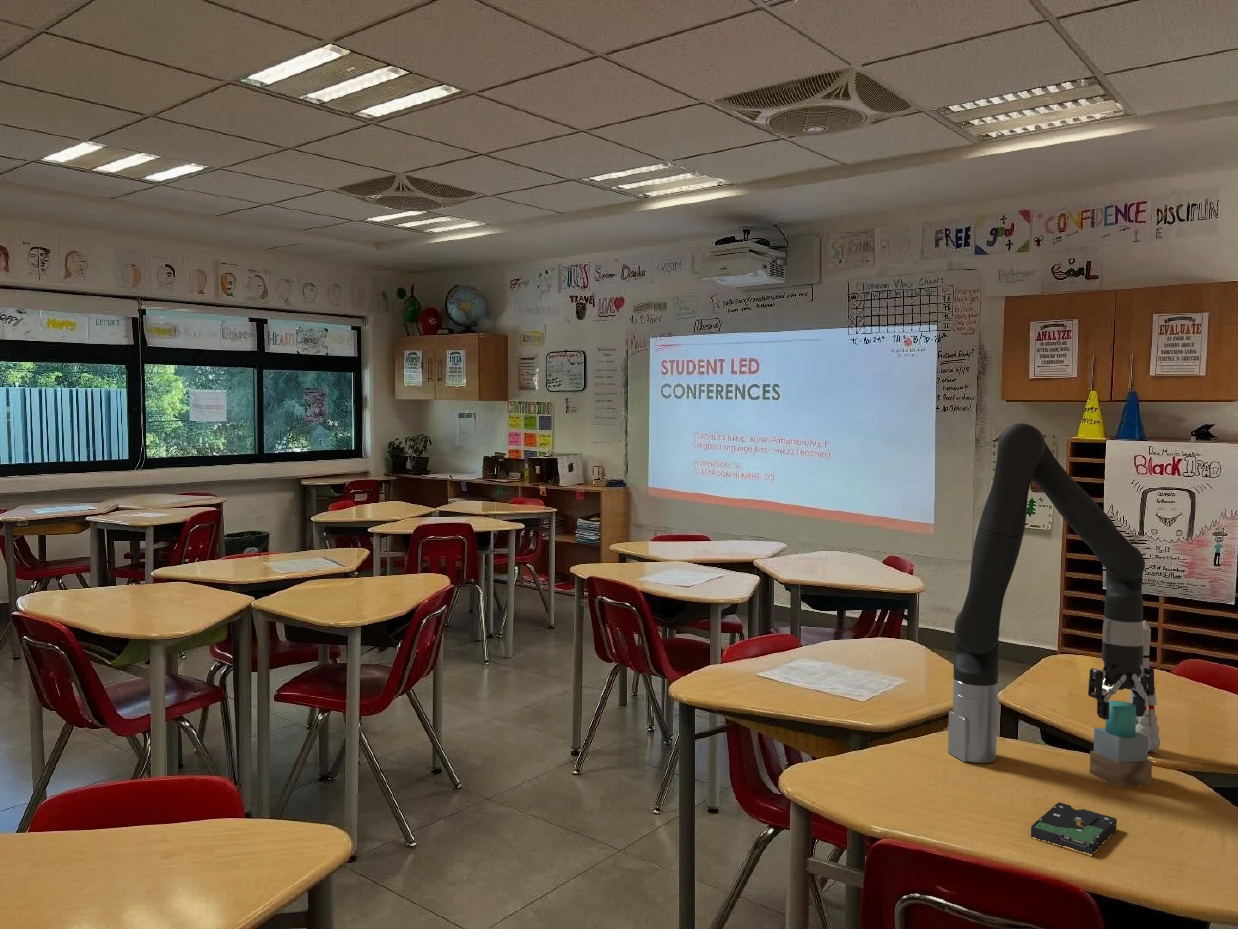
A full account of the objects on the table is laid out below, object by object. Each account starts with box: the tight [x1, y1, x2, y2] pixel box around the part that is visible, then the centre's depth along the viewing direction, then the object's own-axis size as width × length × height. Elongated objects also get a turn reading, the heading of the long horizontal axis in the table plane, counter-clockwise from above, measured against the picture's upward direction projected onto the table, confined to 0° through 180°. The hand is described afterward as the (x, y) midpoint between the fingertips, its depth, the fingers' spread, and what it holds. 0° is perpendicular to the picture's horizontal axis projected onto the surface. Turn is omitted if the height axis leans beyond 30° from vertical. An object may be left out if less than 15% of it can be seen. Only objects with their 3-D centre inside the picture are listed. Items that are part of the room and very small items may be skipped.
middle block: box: [1093, 726, 1149, 763], centre depth 187 cm, size 7×7×5 cm
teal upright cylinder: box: [1105, 700, 1136, 737], centre depth 186 cm, size 6×6×6 cm
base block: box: [1089, 750, 1153, 789], centre depth 187 cm, size 8×8×5 cm
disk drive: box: [1030, 801, 1118, 855], centre depth 161 cm, size 10×3×15 cm
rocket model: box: [1128, 619, 1161, 753], centre depth 203 cm, size 7×7×30 cm
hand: (1120, 717), depth 186 cm, fingers open, 8 cm apart
